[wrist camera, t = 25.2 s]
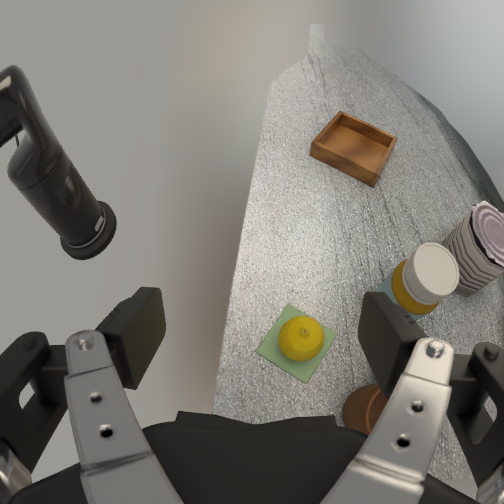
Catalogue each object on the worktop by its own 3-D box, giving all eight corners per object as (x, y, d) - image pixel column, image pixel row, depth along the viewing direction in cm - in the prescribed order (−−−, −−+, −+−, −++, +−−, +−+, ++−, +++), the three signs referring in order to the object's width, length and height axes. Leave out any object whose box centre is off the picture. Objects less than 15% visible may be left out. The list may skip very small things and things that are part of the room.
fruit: (314, 367, 36) (327, 360, 29) (272, 360, 37) (275, 351, 30) (320, 327, 39) (334, 310, 32) (280, 321, 39) (285, 302, 32)
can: (436, 230, 46) (468, 189, 35) (481, 249, 44) (516, 214, 33) (434, 287, 41) (474, 252, 30) (482, 304, 39) (526, 275, 28)
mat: (255, 351, 38) (255, 351, 37) (288, 304, 41) (288, 303, 40) (305, 383, 36) (306, 383, 35) (336, 334, 39) (337, 333, 38)
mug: (356, 349, 37) (381, 335, 29) (403, 359, 36) (437, 347, 28) (334, 433, 32) (355, 442, 24) (384, 440, 31) (416, 448, 23)
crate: (309, 155, 54) (311, 142, 51) (337, 122, 59) (339, 110, 56) (373, 187, 50) (378, 175, 47) (392, 149, 55) (397, 138, 52)
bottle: (401, 286, 41) (450, 236, 28) (411, 329, 38) (469, 293, 25) (361, 292, 41) (401, 241, 28) (370, 338, 38) (420, 304, 25)
